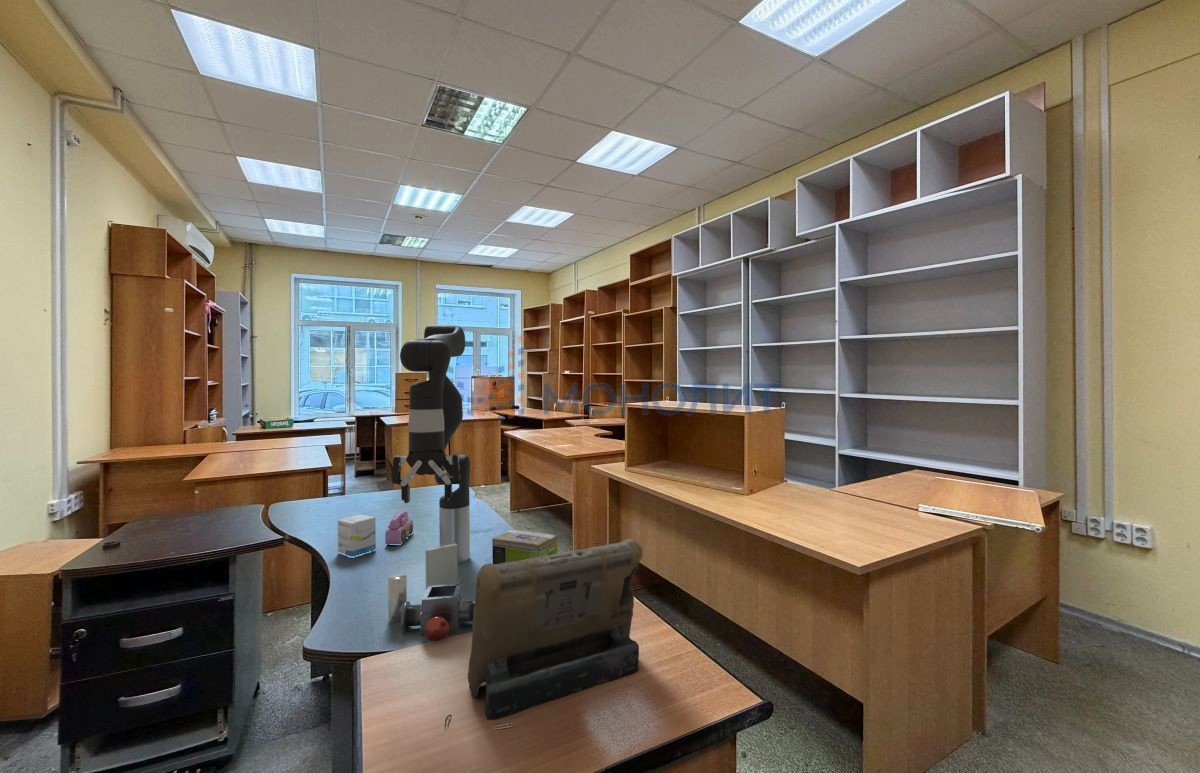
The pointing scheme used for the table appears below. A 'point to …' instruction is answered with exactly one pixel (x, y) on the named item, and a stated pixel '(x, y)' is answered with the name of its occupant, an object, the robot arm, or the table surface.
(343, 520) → the ink box
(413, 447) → the robot arm
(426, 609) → the valve body
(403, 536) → the pink toy car
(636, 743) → the table surface
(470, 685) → the tablet
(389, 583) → the pipe stub
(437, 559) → the external hard drive
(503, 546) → the tea box
